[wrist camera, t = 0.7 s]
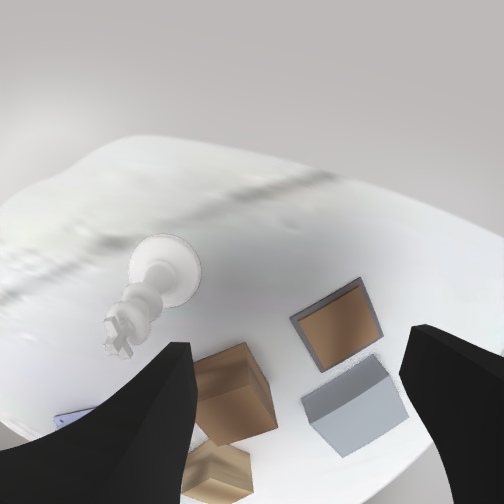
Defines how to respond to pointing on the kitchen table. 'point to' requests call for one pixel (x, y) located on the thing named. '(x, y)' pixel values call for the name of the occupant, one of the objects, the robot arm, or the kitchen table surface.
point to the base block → (355, 407)
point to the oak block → (217, 474)
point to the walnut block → (233, 397)
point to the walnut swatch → (338, 325)
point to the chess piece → (151, 290)
